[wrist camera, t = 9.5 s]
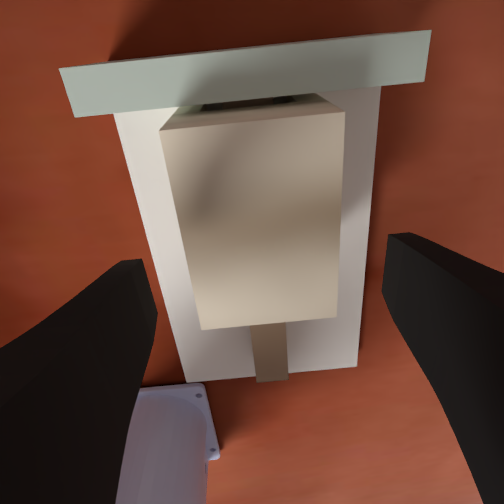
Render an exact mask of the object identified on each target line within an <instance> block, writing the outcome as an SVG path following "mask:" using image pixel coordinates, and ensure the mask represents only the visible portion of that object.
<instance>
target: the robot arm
mask: <svg viewBox="0 0 504 504" xmlns="http://www.w3.org/2000/svg"><path fill="white" fill-rule="evenodd" d="M382 294H383V296H384V299H385V301H386V304H387V307H388V309H389V311H390V314H391V316H392V318H393V320H394V322H395V324H396V326H397V328H398V329H399V331H400V333H401V335H402V336H403V338H404V340H405V341H406V343H407V345H408V347H409V348H410V350H411V352H412V353H413V355H414V357H415V358H416V360H417V362H418V363H419V365H420V367H421V368H422V370H423V372H424V374H425V375H426V377H427V379H428V380H429V382H430V384H431V386H432V387H433V389H434V391H435V393H436V395H437V397H438V399H439V401H440V403H441V405H442V407H443V409H444V412H445V414H446V416H447V418H448V420H449V423H450V425H451V427H452V429H453V431H454V434H455V436H456V438H457V441H458V443H459V445H460V448H461V450H462V452H463V455H464V457H465V459H466V462H467V464H468V466H469V469H470V471H471V473H472V476H473V478H474V481H475V483H476V486H477V488H478V491H479V494H480V496H481V499H482V501H483V504H504V273H502V272H499V271H497V270H494V269H492V268H490V267H487V266H485V265H483V264H480V263H478V262H476V261H474V260H471V259H469V258H467V257H465V256H463V255H460V254H458V253H456V252H454V251H452V250H450V249H447V248H445V247H443V246H441V245H439V244H437V243H435V242H432V241H430V240H428V239H426V238H423V237H421V236H418V235H416V234H413V233H410V232H408V233H398V234H388V242H387V250H386V258H385V267H384V275H383V284H382ZM157 314H158V312H157V309H156V305H155V302H154V299H153V295H152V292H151V288H150V285H149V281H148V278H147V274H146V271H145V268H144V264H143V261H142V259H134V260H124V261H120V262H119V263H117V264H116V265H114V266H113V267H112V268H110V269H109V270H108V271H106V272H105V273H104V274H103V275H101V276H100V277H99V278H98V279H96V280H95V281H94V282H93V283H91V284H90V285H89V286H88V287H86V288H85V289H84V290H83V291H81V292H80V293H79V294H78V295H76V296H75V297H74V298H73V299H71V300H70V301H69V302H67V303H66V304H65V305H63V306H62V307H60V308H59V309H58V310H56V311H55V312H54V313H52V314H51V315H50V316H48V317H47V318H46V319H44V320H43V321H41V322H40V323H39V324H37V325H36V326H34V327H33V328H31V329H30V330H28V331H27V332H25V333H24V334H22V335H21V336H19V337H18V338H16V339H14V340H13V341H11V342H10V343H8V344H6V345H5V346H3V347H2V348H0V504H206V492H207V476H208V460H216V459H218V458H219V457H220V449H219V445H218V440H217V436H216V432H215V428H214V423H213V419H212V415H211V411H210V406H209V402H208V398H207V394H206V389H205V386H204V385H203V384H202V383H189V384H179V385H168V386H158V387H147V388H140V387H141V383H142V380H143V377H144V373H145V370H146V367H147V363H148V360H149V356H150V353H151V349H152V346H153V342H154V336H155V330H156V322H157ZM199 393H200V394H199Z"/></svg>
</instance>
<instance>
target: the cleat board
mask: <svg viewBox="0 0 504 504" xmlns="http://www.w3.org/2000/svg"><path fill="white" fill-rule="evenodd" d="M431 31H432V30H421V31H406V32H391V33H376V34H366V35H357V36H347V37H338V38H328V39H318V40H309V41H299V42H290V43H280V44H270V45H261V46H251V47H241V48H232V49H222V50H213V51H203V52H193V53H184V54H174V55H164V56H155V57H145V58H136V59H126V60H116V61H107V62H100V63H93V64H86V65H79V66H73V67H66V68H59V70H60V73H61V77H62V80H63V83H64V86H65V89H66V92H67V95H68V98H69V101H70V104H71V107H72V110H73V113H74V116H75V117H83V116H93V115H103V114H114V118H115V121H116V125H117V129H118V132H119V136H120V140H121V143H122V147H123V151H124V154H125V158H126V162H127V165H128V169H129V173H130V176H131V180H132V184H133V187H134V191H135V195H136V198H137V202H138V206H139V209H140V213H141V217H142V220H143V224H144V228H145V231H146V235H147V239H148V243H149V246H150V250H151V254H152V257H153V261H154V265H155V268H156V272H157V276H158V279H159V283H160V287H161V290H162V294H163V298H164V301H165V305H166V309H167V312H168V316H169V320H170V323H171V327H172V331H173V334H174V338H175V342H176V345H177V349H178V353H179V356H180V360H181V364H182V367H183V371H184V375H185V379H186V382H187V383H189V382H200V381H210V380H221V379H231V378H242V377H252V376H256V382H257V383H259V382H269V381H280V380H289V375H288V373H295V372H305V371H316V370H326V369H337V368H347V367H357V358H358V347H359V335H360V324H361V312H362V301H363V289H364V278H365V266H366V255H367V243H368V232H369V220H370V209H371V197H372V186H373V174H374V163H375V151H376V140H377V128H378V117H379V105H380V94H381V86H386V85H396V84H405V83H415V82H424V80H425V73H426V66H427V59H428V52H429V45H430V38H431ZM308 93H316V94H318V95H319V96H321V97H322V98H324V99H326V100H327V101H329V102H330V103H332V104H334V105H335V106H337V107H338V108H340V109H342V110H343V111H345V131H344V155H343V179H342V203H341V227H340V251H339V275H338V299H337V317H333V318H323V319H312V320H302V321H292V322H281V323H271V324H260V325H250V326H240V327H229V328H219V329H208V330H201V325H200V321H199V316H198V311H197V307H196V302H195V298H194V293H193V288H192V284H191V279H190V274H189V270H188V265H187V260H186V256H185V251H184V247H183V242H182V237H181V233H180V228H179V223H178V219H177V214H176V210H175V205H174V200H173V196H172V191H171V186H170V182H169V177H168V172H167V168H166V163H165V159H164V154H163V149H162V145H161V140H160V135H159V130H160V128H161V127H162V126H163V125H164V124H165V123H166V122H167V120H168V119H169V118H170V117H171V116H172V115H173V113H174V112H175V111H176V110H177V109H178V108H179V107H181V106H191V105H201V104H207V111H212V110H222V109H231V108H241V107H251V106H261V105H271V104H280V103H287V96H288V95H298V94H308Z"/></svg>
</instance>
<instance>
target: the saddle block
mask: <svg viewBox="0 0 504 504" xmlns="http://www.w3.org/2000/svg"><path fill="white" fill-rule="evenodd" d="M344 131H345V111H343V110H342V109H340V108H338V107H337V106H335V105H334V104H332V103H330V102H329V101H327V100H326V99H324V98H322V97H321V96H319V95H318V94H316V93H308V94H298V95H288V96H287V103H280V104H271V105H261V106H251V107H241V108H231V109H222V110H212V111H207V104H201V105H191V106H181V107H179V108H178V109H177V110H176V111H175V112H174V113H173V115H172V116H171V117H170V118H169V119H168V120H167V122H166V123H165V124H164V125H163V126H162V127H161V128H160V130H159V135H160V140H161V145H162V149H163V154H164V159H165V163H166V168H167V172H168V177H169V182H170V186H171V191H172V196H173V200H174V205H175V210H176V214H177V219H178V223H179V228H180V233H181V237H182V242H183V247H184V251H185V256H186V260H187V265H188V270H189V274H190V279H191V284H192V288H193V293H194V298H195V302H196V307H197V311H198V316H199V321H200V325H201V330H208V329H219V328H229V327H240V326H250V325H260V324H271V323H281V322H292V321H302V320H312V319H323V318H333V317H337V299H338V275H339V251H340V227H341V203H342V179H343V155H344Z"/></svg>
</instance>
